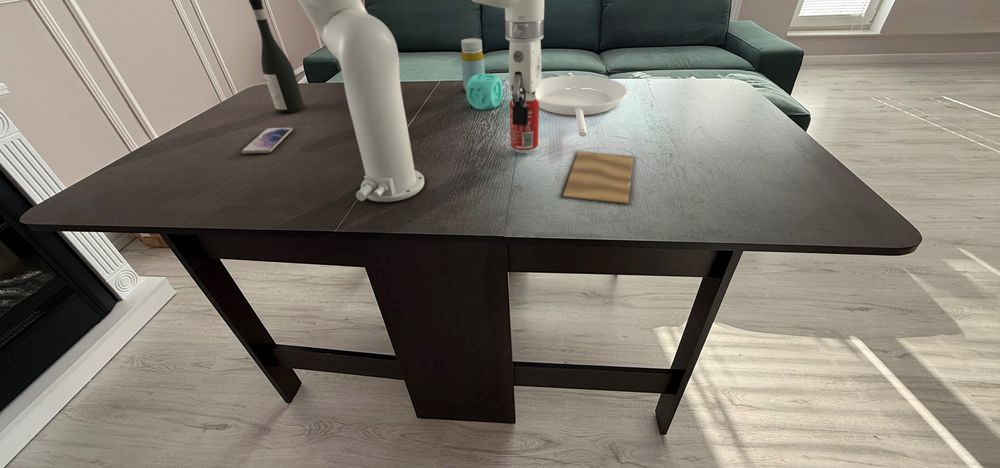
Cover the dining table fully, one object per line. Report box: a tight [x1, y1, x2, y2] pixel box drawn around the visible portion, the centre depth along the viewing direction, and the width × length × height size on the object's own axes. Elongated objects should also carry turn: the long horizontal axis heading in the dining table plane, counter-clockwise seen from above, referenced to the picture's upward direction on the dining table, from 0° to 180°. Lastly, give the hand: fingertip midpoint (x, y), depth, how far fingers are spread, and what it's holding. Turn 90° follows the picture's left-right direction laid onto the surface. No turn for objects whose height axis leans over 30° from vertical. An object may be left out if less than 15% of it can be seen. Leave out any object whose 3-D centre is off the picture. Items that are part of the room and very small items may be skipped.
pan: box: [535, 74, 629, 138], centre depth 116 cm, size 28×44×4 cm, turn 175°
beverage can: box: [509, 93, 540, 154], centre depth 94 cm, size 6×6×12 cm
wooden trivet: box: [562, 151, 634, 205], centre depth 87 cm, size 20×12×1 cm, turn 163°
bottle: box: [460, 37, 486, 92], centre depth 133 cm, size 7×7×15 cm
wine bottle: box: [248, 0, 305, 114], centre depth 119 cm, size 8×8×30 cm
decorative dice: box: [465, 73, 504, 111], centre depth 123 cm, size 8×8×8 cm
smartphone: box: [241, 126, 293, 155], centre depth 108 cm, size 7×1×15 cm
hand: (524, 118), depth 94 cm, fingers closed on beverage can, 6 cm apart
